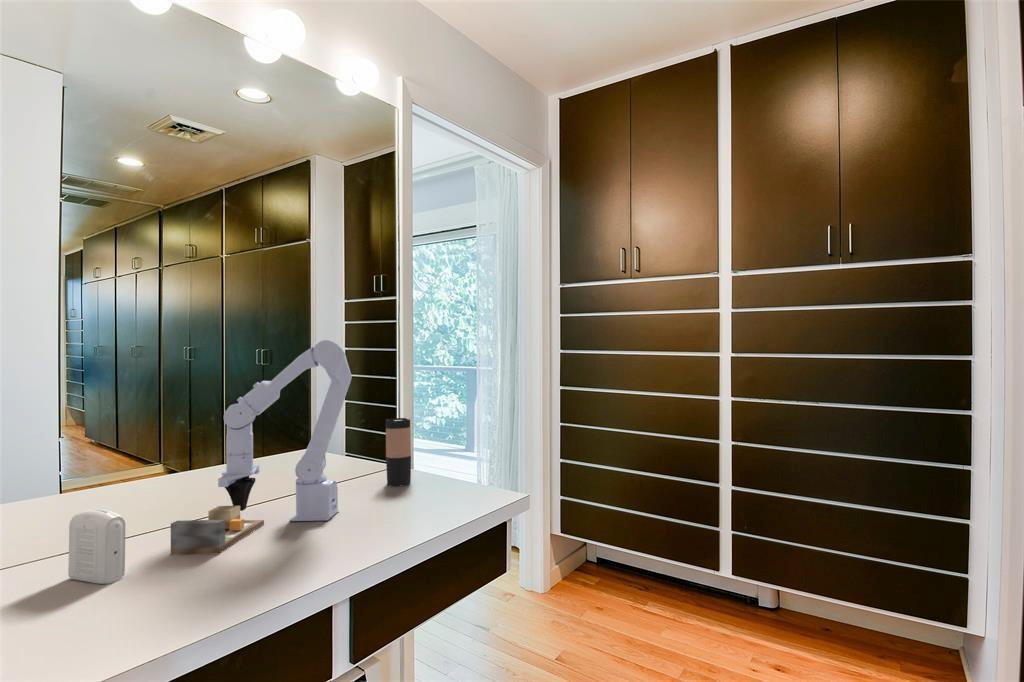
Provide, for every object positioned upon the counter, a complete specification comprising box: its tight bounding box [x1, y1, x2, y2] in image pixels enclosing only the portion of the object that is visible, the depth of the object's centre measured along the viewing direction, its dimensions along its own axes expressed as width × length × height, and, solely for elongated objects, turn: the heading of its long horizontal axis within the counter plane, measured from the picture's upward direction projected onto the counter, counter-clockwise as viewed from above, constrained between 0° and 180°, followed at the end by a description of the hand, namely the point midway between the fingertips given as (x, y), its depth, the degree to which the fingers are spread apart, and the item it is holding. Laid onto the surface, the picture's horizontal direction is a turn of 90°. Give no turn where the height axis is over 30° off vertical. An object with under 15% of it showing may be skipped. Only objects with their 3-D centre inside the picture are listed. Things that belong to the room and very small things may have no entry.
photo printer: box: [67, 508, 126, 585], centre depth 93 cm, size 10×4×12 cm, turn 73°
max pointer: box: [230, 518, 245, 530], centre depth 114 cm, size 2×2×2 cm, turn 89°
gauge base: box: [170, 519, 265, 555], centre depth 113 cm, size 10×18×6 cm, turn 179°
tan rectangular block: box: [207, 505, 241, 529], centre depth 117 cm, size 8×4×4 cm, turn 89°
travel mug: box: [385, 417, 412, 487], centre depth 161 cm, size 8×8×20 cm
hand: (240, 510), depth 124 cm, fingers closed
